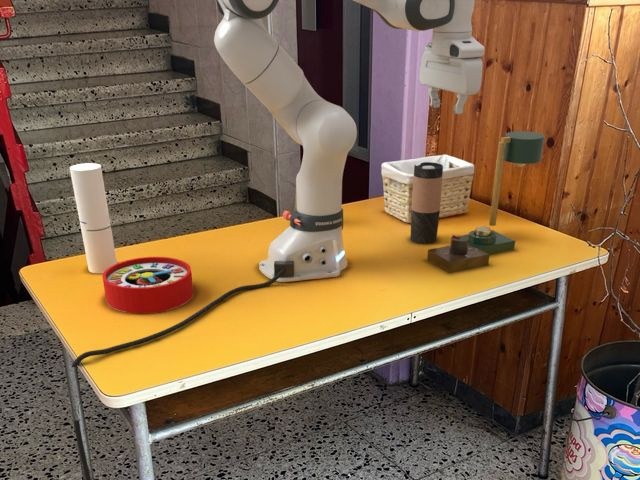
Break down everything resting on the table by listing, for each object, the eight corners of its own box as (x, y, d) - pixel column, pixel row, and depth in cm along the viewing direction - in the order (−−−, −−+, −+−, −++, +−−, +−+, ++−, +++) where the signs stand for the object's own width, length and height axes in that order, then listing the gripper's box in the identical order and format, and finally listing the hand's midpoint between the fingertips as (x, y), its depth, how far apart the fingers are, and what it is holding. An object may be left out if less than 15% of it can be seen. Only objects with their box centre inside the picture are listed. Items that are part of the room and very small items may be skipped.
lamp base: (477, 257, 191) (479, 240, 189) (455, 246, 199) (456, 229, 196) (514, 250, 196) (516, 233, 193) (491, 239, 203) (493, 223, 201)
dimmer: (449, 273, 182) (450, 261, 180) (426, 260, 190) (427, 249, 188) (488, 265, 186) (489, 253, 185) (465, 253, 194) (466, 241, 192)
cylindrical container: (103, 261, 191) (85, 161, 177) (123, 266, 188) (107, 165, 174) (82, 270, 186) (63, 168, 172) (103, 275, 182) (84, 172, 169)
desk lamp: (501, 230, 196) (512, 142, 183) (478, 220, 203) (488, 134, 191) (539, 223, 200) (553, 136, 188) (515, 213, 208) (527, 129, 196)
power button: (480, 238, 191) (481, 232, 190) (471, 234, 194) (472, 227, 193) (493, 236, 193) (494, 229, 192) (483, 232, 196) (484, 225, 195)
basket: (404, 226, 214) (407, 174, 206) (377, 211, 226) (379, 161, 218) (472, 214, 222) (478, 164, 214) (442, 201, 235) (446, 153, 226)
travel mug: (438, 244, 200) (445, 169, 189) (410, 244, 200) (415, 169, 189) (435, 235, 206) (441, 162, 195) (408, 235, 206) (412, 162, 196)
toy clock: (91, 266, 171) (173, 251, 180) (96, 289, 175) (176, 274, 183) (116, 295, 157) (204, 277, 165) (121, 320, 160) (206, 301, 168)
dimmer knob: (470, 251, 186) (472, 236, 184) (460, 256, 184) (462, 241, 182) (456, 247, 189) (457, 233, 187) (446, 251, 186) (447, 237, 184)
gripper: (414, 42, 175) (411, 104, 182) (466, 50, 159) (460, 118, 167) (437, 40, 177) (432, 102, 185) (489, 48, 162) (482, 115, 169)
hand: (446, 110), depth 176 cm, fingers open, 8 cm apart
